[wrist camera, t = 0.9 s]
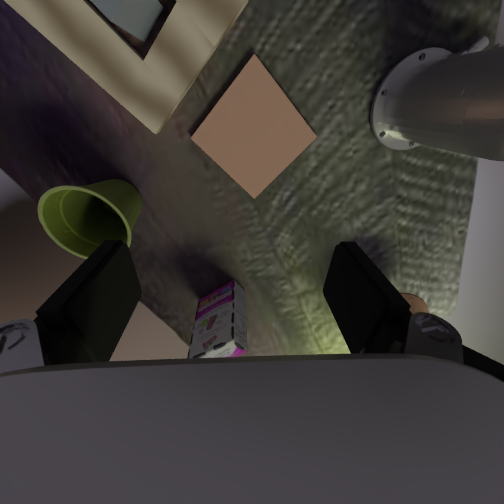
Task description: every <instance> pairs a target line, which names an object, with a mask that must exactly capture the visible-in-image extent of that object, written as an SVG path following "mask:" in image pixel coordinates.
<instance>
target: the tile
mask: <svg viewBox="0 0 504 504" xmlns="http://www.w3.org/2000/svg"><path fill="white" fill-rule="evenodd" d="M316 138H317V136H316V135H315V134H314V132H313V131H312V130H311V128H310V127H309V126H308V124H307V123H306V122H305V120H304V119H303V118H302V116H301V115H300V114H299V112H298V111H297V110H296V108H295V107H294V106H293V104H292V103H291V102H290V100H289V99H288V98H287V96H286V95H285V94H284V92H283V91H282V90H281V88H280V87H279V86H278V84H277V83H276V82H275V80H274V79H273V78H272V76H271V75H270V74H269V72H268V71H267V70H266V68H265V67H264V66H263V64H262V63H261V62H260V60H259V59H258V58H257V56H256V55H255V54H254V55H253V56H252V58H251V59H250V60H249V62H248V63H247V64H246V65H245V67H244V68H243V69H242V71H241V72H240V73H239V75H238V76H237V77H236V79H235V80H234V81H233V83H232V84H231V85H230V87H229V88H228V89H227V91H226V92H225V93H224V95H223V96H222V97H221V99H220V100H219V101H218V103H217V104H216V105H215V107H214V108H213V109H212V111H211V112H210V113H209V115H208V116H207V117H206V119H205V120H204V121H203V123H202V124H201V125H200V127H199V128H198V129H197V131H196V132H195V133H194V134H193V136H192V137H191V139H192V140H193V141H194V142H195V143H196V144H197V145H198V146H199V147H200V148H201V149H202V150H203V151H204V152H206V153H207V154H208V155H209V156H210V157H211V158H212V159H213V160H214V161H215V162H216V163H217V164H218V165H219V166H220V167H221V168H222V169H223V170H225V171H226V172H227V173H228V174H229V175H230V176H231V177H232V178H233V179H234V180H235V181H236V182H237V183H238V184H239V185H240V186H241V187H242V188H243V189H245V190H246V191H247V192H248V193H249V194H250V195H251V196H252V197H253V198H256V197H257V196H258V195H259V194H260V193H261V192H262V191H263V190H264V189H265V188H266V187H267V186H268V185H269V184H270V183H271V182H272V181H273V180H274V179H275V178H276V177H277V176H278V175H279V174H280V173H281V172H282V171H283V170H284V169H285V168H286V167H287V166H288V165H289V164H290V163H291V162H292V161H293V160H294V159H295V158H296V157H297V156H298V155H299V154H300V153H301V152H302V151H303V150H304V149H305V148H306V147H307V146H308V145H309V144H310V143H311V142H312V141H314V140H315V139H316Z"/></svg>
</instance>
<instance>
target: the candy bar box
mask: <svg viewBox="0 0 504 504" xmlns="http://www.w3.org/2000/svg"><path fill="white" fill-rule="evenodd" d="M246 352H247V332H246V307H245V290H244V289H243V288H242V287H241V286H240V285H239V284H238V283H237V282H236V281H235V280H232V281H230V282H228V283H226V284H225V285H223V286H221V287H220V288H218V289H216V290H214V291H213V292H211V293H209V294H207V295H206V296H204V297H202V298H200V299H199V302H198V307H197V312H196V317H195V322H194V328H193V332H192V337H191V342H190V347H189V352H188V358H216V357H237V356H240V355H242V354H244V353H246Z"/></svg>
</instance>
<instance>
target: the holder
mask: <svg viewBox="0 0 504 504" xmlns="http://www.w3.org/2000/svg"><path fill="white" fill-rule="evenodd" d="M4 1H5V2H6V3H7V4H9V5H10V6H11V7H12V8H13V9H14V10H15V11H17V12H18V13H19V14H20V15H21V16H22V17H23V18H24V19H26V20H27V21H28V22H29V23H30V24H31V25H32V26H33V27H35V28H36V29H37V30H38V31H39V32H40V33H41V34H42V35H44V36H45V37H46V38H47V39H48V40H49V41H50V42H52V43H53V44H54V45H55V46H56V47H57V48H58V49H59V50H61V51H62V52H63V53H64V54H65V55H66V56H67V57H68V58H70V59H71V60H72V61H73V62H74V63H75V64H76V65H77V66H79V67H80V68H81V69H82V70H83V71H84V72H85V73H86V74H88V75H89V76H90V77H91V78H92V79H93V80H94V81H96V82H97V83H98V84H99V85H100V86H101V87H102V88H103V89H105V90H106V91H107V92H108V93H109V94H110V95H111V96H112V97H114V98H115V99H116V100H117V101H118V102H119V103H120V104H121V105H123V106H124V107H125V108H126V109H127V110H128V111H129V112H131V113H132V114H133V115H134V116H135V117H136V118H137V119H138V120H140V121H141V122H142V123H143V124H144V125H145V126H146V127H147V128H149V129H150V130H151V131H152V132H153V133H154V134H157V133H159V132H160V131H161V129H162V128H163V127H164V125H165V124H166V122H167V121H168V119H169V118H170V116H171V115H172V113H173V112H174V110H175V109H176V107H177V106H178V104H179V103H180V102H181V100H182V99H183V97H184V96H185V94H186V93H187V91H188V90H189V88H190V87H191V85H192V84H193V82H194V81H195V79H196V78H197V76H198V75H199V74H200V72H201V71H202V69H203V68H204V66H205V65H206V63H207V62H208V60H209V59H210V57H211V56H212V54H213V53H214V51H215V50H216V49H217V47H218V46H219V44H220V43H221V41H222V40H223V38H224V37H225V35H226V34H227V32H228V31H229V29H230V28H231V26H232V25H233V24H234V22H235V21H236V19H237V18H238V16H239V15H240V13H241V12H242V10H243V9H244V7H245V6H246V4H247V3H248V0H175V1H176V4H175V6H174V8H173V9H172V11H171V13H170V15H169V16H168V18H167V20H166V22H165V24H164V25H163V27H162V29H161V31H160V32H159V34H158V36H157V38H156V40H155V41H154V43H153V45H152V47H151V48H150V50H149V52H148V54H147V56H146V57H145V59H144V58H143V57H142V56H141V55H140V54H139V53H138V52H137V51H136V50H135V49H134V48H133V47H132V46H131V45H130V44H129V43H128V42H127V41H126V40H125V39H124V38H123V37H122V36H121V35H120V34H119V33H118V32H117V31H116V30H115V29H114V28H113V27H112V26H111V25H110V24H109V23H108V22H107V21H106V20H105V19H104V18H103V17H102V16H101V14H100V13H99V12H98V11H97V10H96V9H95V8H94V7H93V6H92V5H91V4H90V3H89V2H88V1H87V0H4Z"/></svg>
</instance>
